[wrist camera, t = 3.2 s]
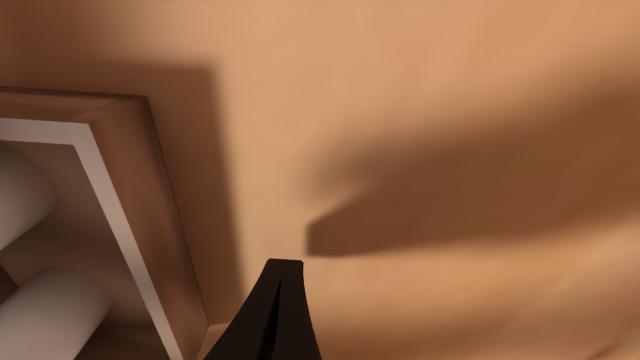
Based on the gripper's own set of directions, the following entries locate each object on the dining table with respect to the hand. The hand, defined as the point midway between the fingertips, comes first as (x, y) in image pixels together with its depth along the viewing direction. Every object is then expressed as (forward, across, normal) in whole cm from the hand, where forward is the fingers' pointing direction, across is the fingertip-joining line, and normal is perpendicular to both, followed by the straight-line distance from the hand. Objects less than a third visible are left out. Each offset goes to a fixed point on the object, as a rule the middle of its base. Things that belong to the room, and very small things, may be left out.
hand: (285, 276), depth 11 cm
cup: (+1, +10, +3) cm, 11 cm away
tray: (+1, +9, 0) cm, 9 cm away
